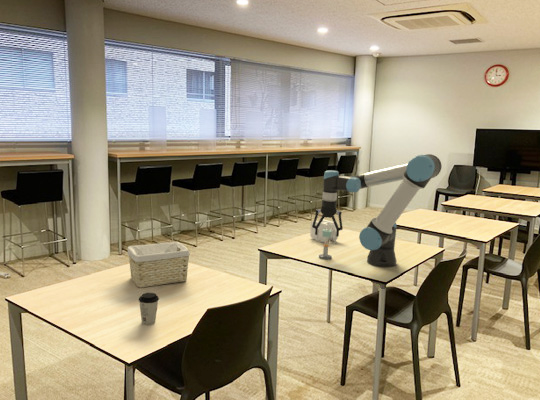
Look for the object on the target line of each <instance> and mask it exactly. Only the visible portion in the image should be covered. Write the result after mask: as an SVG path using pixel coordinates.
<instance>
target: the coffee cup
mask: <svg viewBox="0 0 540 400" xmlns="http://www.w3.org/2000/svg"><path fill="white" fill-rule="evenodd" d="M159 300H160V298H159V296H158V295H157V293H155V292H144V293H142V294H141V295H140V296H139V297H138V302H139V310H140V318H141V324H143V325H144V326H145V325H146V326H149V325H154V324H155V323H156V319H157V313H158V312H157V311H158V304H159Z"/></svg>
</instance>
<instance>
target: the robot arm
mask: <svg viewBox="0 0 540 400" xmlns="http://www.w3.org/2000/svg"><path fill="white" fill-rule="evenodd" d="M442 165H443V164H442V162H441V159H439V157H437V156H436V155H434V154H430V153H429V154H427V153H426V154H419V155H415V156H414V157H412V158H411V159H409V161H408V162H407V163H405V164H399V165H394V166H390V167H386V168H381V169H378V170H373V171H370V172H369V171H368V172H366V173H360V174H359V173H358V174H356V175H355V174H354V175H349V176H346V175H344V176H343V175H339V174H340V173H339V171H338V170H333V169H331V170H330V169H329V170H326V171H324V175H323V184H322V185H323V186H322V196H321V197H322V201H321V208H320V209H317V208H316V209H315V215H314V218H313V221H314V222H313V225H312V227H313V228H315V235H317V240H316V242H319V240H318V238H319V228H318V227H319V226H320V224H321V222H322V220H323V219H324V220H325V218H329V219H331V220H332V222H334V224H335V227H336V229H337V230H335V240H334V244H336V243H337V240H336V237H339V234H340V231H343V230H344V229H343V221H342V212H343V211H342V210H337V200H338V191H343V192H349V193H359V191H360V190H362V189H367V188H369V187H374V186H381V185H385V184H390V183H393V182H399V181H401V183H400V184H399V186H397V188H396V190H395V191H394V192H393V194H392V196H391V197H390V198H389V200H388V201H387V202H386V203H385V205H384V207H383V208H382V210H381V211H380V213H378V215H377V217H373V218H372V219H371V220H370V221H369V223H368V225H367V226H366V227H364V228H363V229H362V230H361V231H360V233H359V238H358V239H359V243H360V244H361V246H362V247H363V248H364V249H365V250H367V251H369V252H368V255H367V257H366V258H367V259H366V262H367V263H368V264H370V265H373V266H376V267H382V268H390V267H395V266H396V265H397V258H396V254H395V246H396V245H395V244H396V237H397V236H396V235H397V222H398V220H399V219H400V217H401V215H402V214H403V213H404V211H405V210H406V208H407V207H408V206H409V204H410V203H411V202H412V201H413V198H415V196H416V194H417V193H418V192H419V190H421V189H425V188H426V186H427V185H428V184H429V182H430V181H431V179H433V178H435V177H437V176H438V175H439V174H440V173H441V171H442ZM319 214H321V217H320V219H319V221H318V216H319ZM336 214H337V216H338V222H339V223H337V220H336V218H335V215H336ZM316 221H318V224H317V226H315V223H316ZM337 224H338V225H337Z"/></svg>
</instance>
